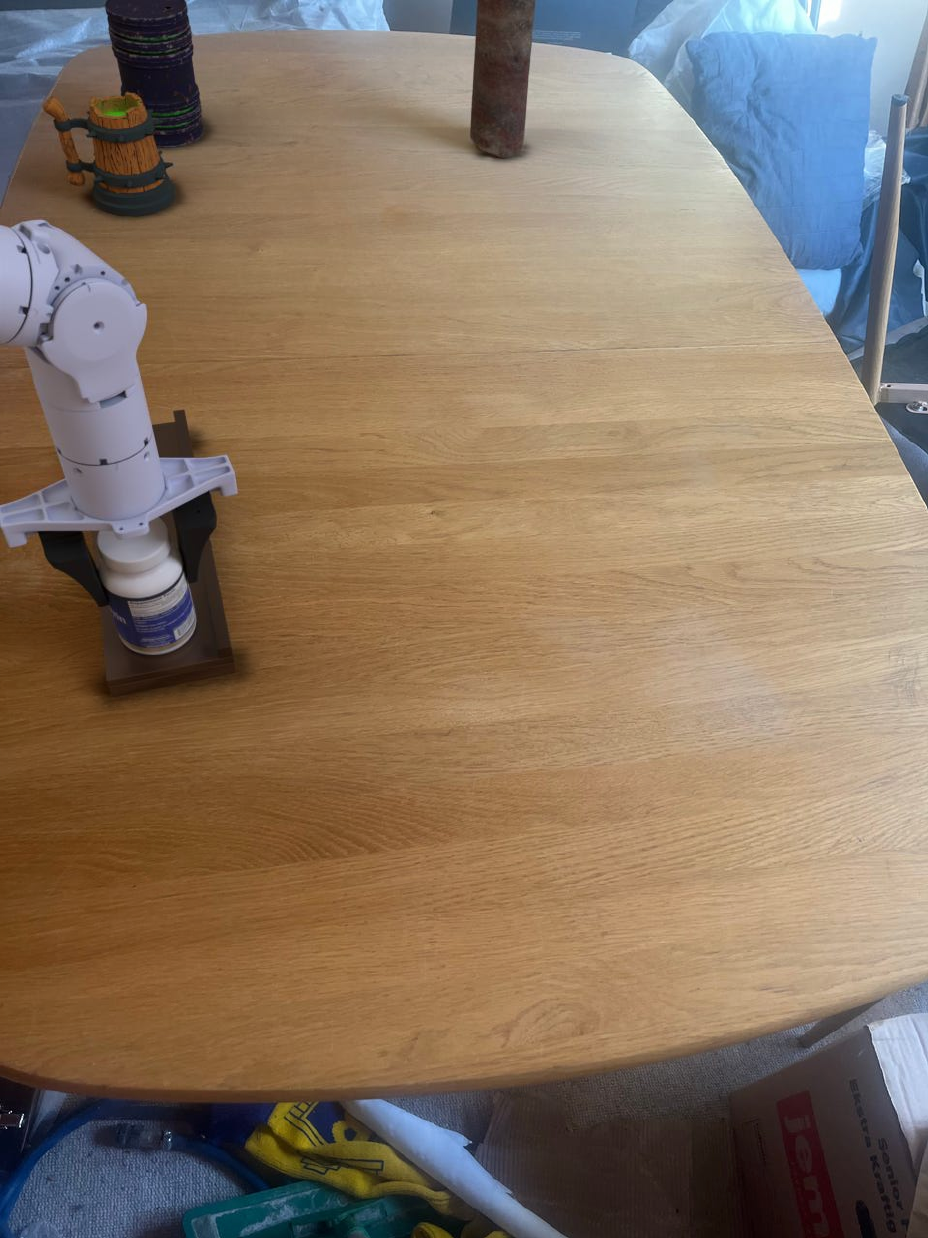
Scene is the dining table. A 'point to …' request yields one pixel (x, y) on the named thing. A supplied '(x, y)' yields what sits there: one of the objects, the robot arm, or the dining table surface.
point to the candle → (501, 75)
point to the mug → (118, 155)
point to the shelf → (211, 637)
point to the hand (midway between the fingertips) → (145, 584)
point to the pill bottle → (147, 590)
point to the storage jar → (158, 64)
